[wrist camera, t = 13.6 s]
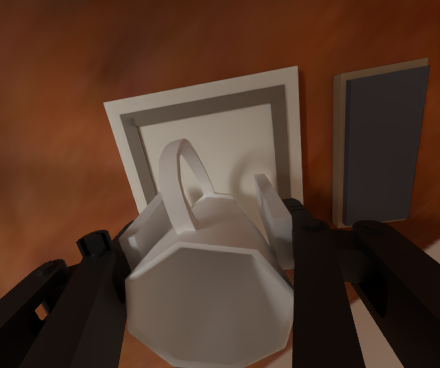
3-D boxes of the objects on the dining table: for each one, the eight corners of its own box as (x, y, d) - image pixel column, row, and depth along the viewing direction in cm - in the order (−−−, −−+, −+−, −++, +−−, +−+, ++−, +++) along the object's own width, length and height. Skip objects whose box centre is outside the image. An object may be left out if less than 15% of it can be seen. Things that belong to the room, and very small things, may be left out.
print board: (109, 103, 16) (101, 102, 15) (293, 68, 15) (298, 65, 14) (162, 270, 21) (159, 277, 20) (302, 253, 20) (306, 260, 19)
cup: (189, 264, 17) (159, 386, 9) (141, 148, 14) (38, 190, 6) (273, 245, 16) (315, 362, 8) (240, 117, 13) (260, 122, 6)
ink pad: (333, 76, 15) (345, 71, 13) (415, 61, 14) (437, 54, 13) (332, 222, 18) (341, 232, 17) (396, 214, 18) (412, 223, 16)
